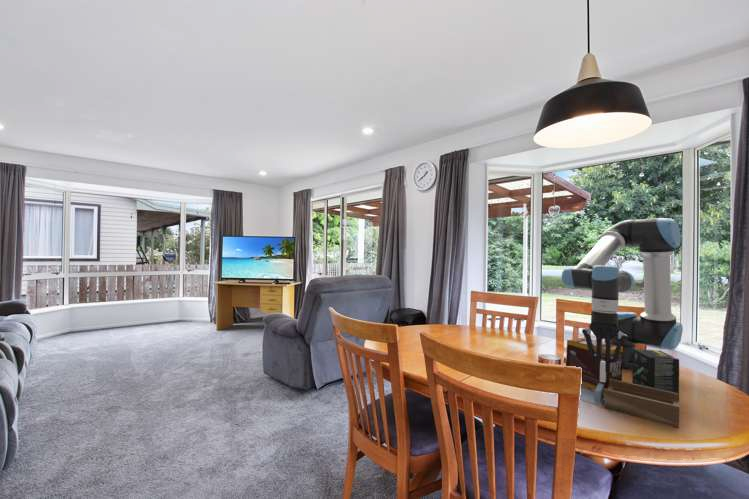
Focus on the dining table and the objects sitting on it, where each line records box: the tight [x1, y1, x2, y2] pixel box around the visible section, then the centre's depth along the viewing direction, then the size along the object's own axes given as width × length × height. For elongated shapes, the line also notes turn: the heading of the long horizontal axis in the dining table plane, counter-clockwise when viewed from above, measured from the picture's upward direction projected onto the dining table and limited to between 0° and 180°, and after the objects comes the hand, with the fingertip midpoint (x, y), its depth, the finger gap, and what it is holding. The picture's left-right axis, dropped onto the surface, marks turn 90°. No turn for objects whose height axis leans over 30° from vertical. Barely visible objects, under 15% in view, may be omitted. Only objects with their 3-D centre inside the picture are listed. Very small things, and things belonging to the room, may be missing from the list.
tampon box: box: [631, 348, 680, 403], centre depth 122 cm, size 11×9×15 cm
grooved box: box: [603, 379, 680, 429], centre depth 110 cm, size 13×18×6 cm
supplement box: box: [565, 337, 623, 393], centre depth 131 cm, size 10×15×16 cm
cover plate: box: [579, 383, 604, 406], centre depth 121 cm, size 10×16×5 cm, turn 50°
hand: (602, 380), depth 116 cm, fingers closed
